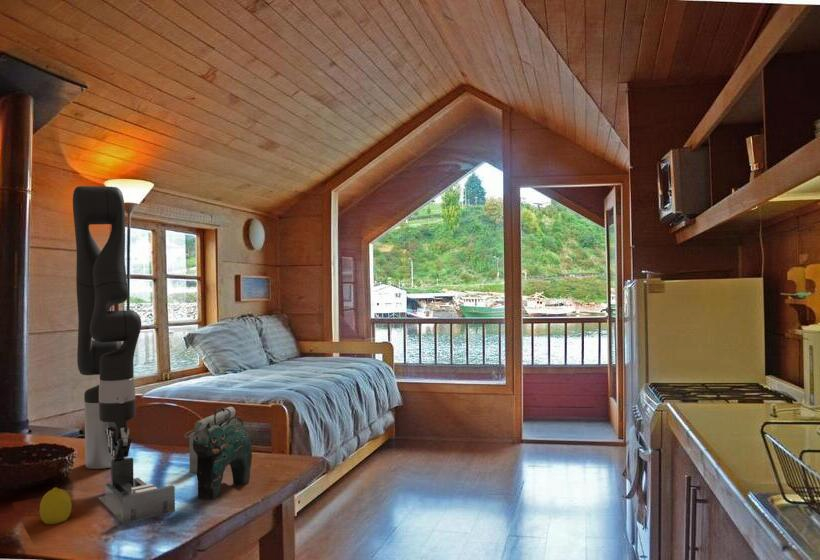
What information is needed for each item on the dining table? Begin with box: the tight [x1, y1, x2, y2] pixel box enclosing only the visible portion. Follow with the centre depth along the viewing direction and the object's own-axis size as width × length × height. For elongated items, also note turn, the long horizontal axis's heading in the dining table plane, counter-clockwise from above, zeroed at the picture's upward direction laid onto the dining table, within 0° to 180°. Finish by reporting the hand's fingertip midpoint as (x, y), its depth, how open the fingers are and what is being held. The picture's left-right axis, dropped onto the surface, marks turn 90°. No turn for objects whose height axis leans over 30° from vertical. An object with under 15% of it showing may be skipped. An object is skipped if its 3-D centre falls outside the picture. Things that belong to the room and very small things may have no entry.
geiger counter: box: [183, 406, 238, 473], centre depth 168 cm, size 14×6×25 cm
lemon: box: [39, 486, 73, 525], centre depth 126 cm, size 6×6×8 cm
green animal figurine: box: [193, 406, 253, 501], centre depth 145 cm, size 20×6×20 cm, turn 166°
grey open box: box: [97, 477, 176, 525], centre depth 134 cm, size 20×10×6 cm, turn 39°
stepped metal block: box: [110, 457, 134, 496], centre depth 139 cm, size 9×4×7 cm, turn 39°
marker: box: [131, 483, 158, 494], centre depth 129 cm, size 4×4×5 cm
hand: (118, 474), depth 145 cm, fingers closed
